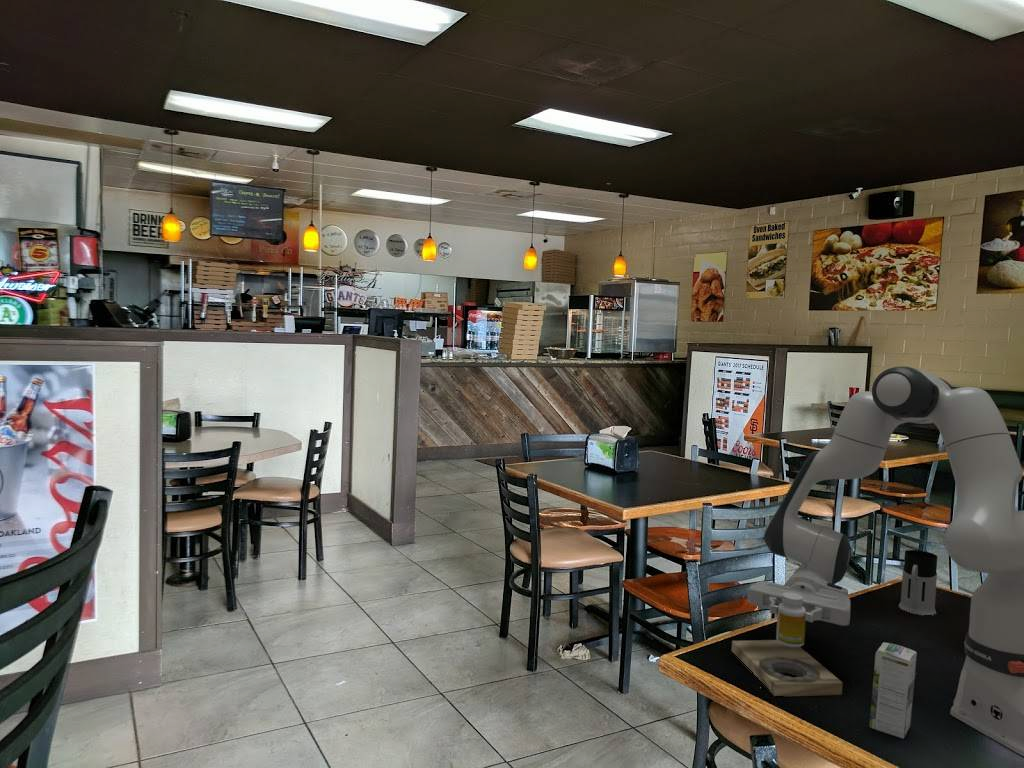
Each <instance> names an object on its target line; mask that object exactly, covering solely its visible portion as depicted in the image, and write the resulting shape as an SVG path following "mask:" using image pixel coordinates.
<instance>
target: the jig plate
mask: <svg viewBox="0 0 1024 768" xmlns="http://www.w3.org/2000/svg"><path fill="white" fill-rule="evenodd" d="M732 652H733V653H734V654H735V655H736V656H737V657H738V658H739V659H740V660H741V661H742V662H743V663H744V664H745V665H746V666H747V667H748V668H749V669H750V670H751V671H752V672H753V674H754V675H755V676H756V677H758V679H759V680H760V681H761V682H762V683H763V684H764V685H765V686H766V687H767V688H768V689H769V690H770V691H769V690H768V689H767V688H766V687H765V686H764V685H763V684H762V683H761V682H760V681H759V680H758V679H757V680H758V681H759V682H760V683H761V684H762V685H763V686H764V687H765V688H766V689H767V690H768V691H769V692H770V693H771V694H772V696H774V697H775V696H784V697H809V696H810V697H814V696H842V695H843V681H842V680H840V679H839V678H838V677H837V676H836V675H834V674H833V673H832V672H831V671H829V670H828V669H827V668H826V667H824V666H823V665H822V664H821V663H820V662H819V661H818V660H816V659H815V658H814V657H813V656H811V655H810V654H809V653H808V652H807V651H806V650H804V649H803V648H802V646H800V647H790V646H786V645H783V644H781V643H779V642H778V641H777V639H761V640H758V639H757V640H756V639H755V640H751V639H750V640H732V641H731V653H732ZM733 653H732V654H733ZM734 654H733V655H734ZM735 655H734V656H735ZM736 656H735V657H736ZM737 657H736V658H737ZM738 658H737V659H738ZM739 659H738V660H739ZM740 660H739V661H740ZM741 661H740V662H741ZM742 662H741V663H742ZM743 663H742V664H743ZM744 664H743V665H744ZM745 665H744V666H745ZM746 666H745V667H746ZM747 667H746V668H747ZM748 668H747V669H748ZM749 669H748V670H749ZM750 670H749V671H750ZM751 671H750V672H751ZM752 672H751V673H752ZM783 672H785V673H789V674H788V675H785V673H783ZM790 674H792V675H791V676H789V675H790ZM754 675H753V676H754ZM794 675H795V676H794ZM755 676H754V677H755ZM793 676H794V677H793ZM756 677H755V678H756Z"/></svg>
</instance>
